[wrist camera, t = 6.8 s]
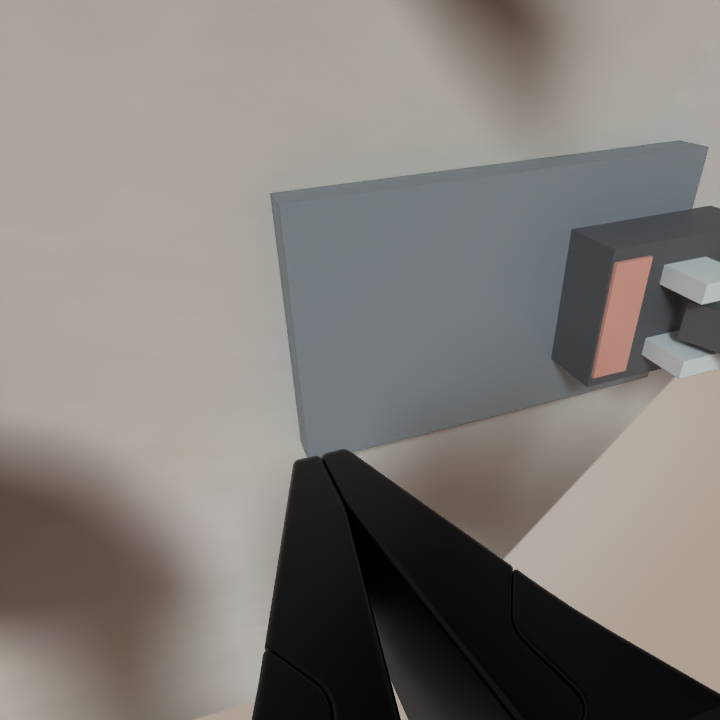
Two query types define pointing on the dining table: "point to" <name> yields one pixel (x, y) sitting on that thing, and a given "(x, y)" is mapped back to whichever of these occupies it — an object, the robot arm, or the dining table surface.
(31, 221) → the dining table surface
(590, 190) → the switch box
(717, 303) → the lever
